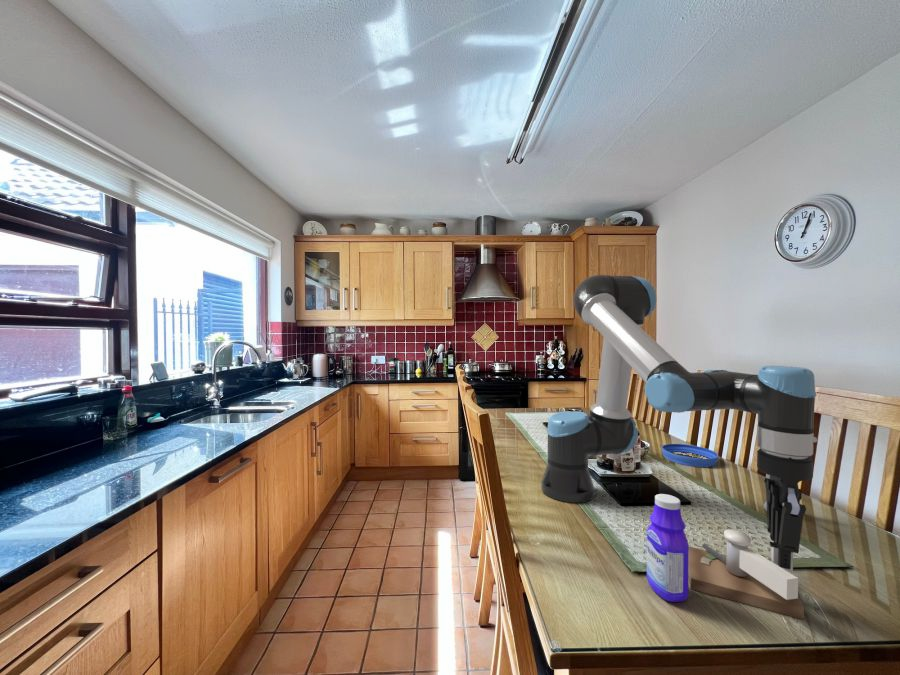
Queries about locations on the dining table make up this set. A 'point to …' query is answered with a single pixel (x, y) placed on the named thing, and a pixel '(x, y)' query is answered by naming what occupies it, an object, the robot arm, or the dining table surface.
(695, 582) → the board
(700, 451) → the bowl
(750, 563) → the peg
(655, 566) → the bottle
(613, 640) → the dining table surface
